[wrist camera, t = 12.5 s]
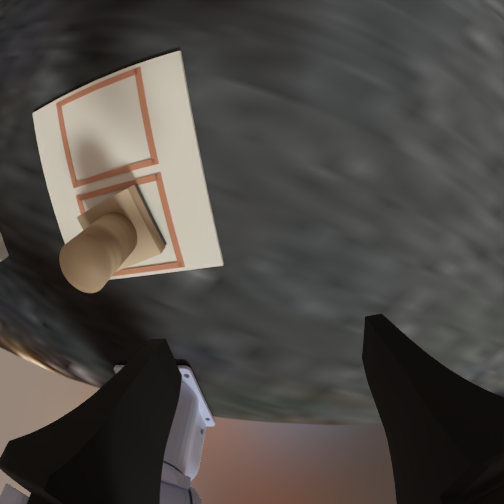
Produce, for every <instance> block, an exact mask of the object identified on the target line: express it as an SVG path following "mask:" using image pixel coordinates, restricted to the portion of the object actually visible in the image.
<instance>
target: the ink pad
mask: <svg viewBox="0 0 504 504" xmlns="http://www.w3.org/2000/svg"><path fill="white" fill-rule="evenodd" d="M8 256H9V255H8V252H7V249H6V247H5V244H4V241H3V238H2V235H1V232H0V262H1V261H2V260H4V259H5V258H7V257H8Z"/></svg>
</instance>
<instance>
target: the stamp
mask: <svg viewBox="0 0 504 504" xmlns="http://www.w3.org/2000/svg"><path fill="white" fill-rule="evenodd" d="M77 219H78V221H79V223H80V225H81V227H82V229H83V231H82V232H80V233H79V234H78V235H77V236H75V237H74V238H73V239H71V240H70V241H69V242H68V243H66V244H65V245H64V246H63V248H62V249H61V251H60V256H59V261H60V267H61V270H62V272H63V274H64V276H65V278H66V279H67V280H68V282H69V283H70V284H71V285H72V286H74V287H75V288H76V289H78V290H80V291H82V292H85V293H95V292H98V291H99V290H101V289H102V288H103V286H104V285H105V284H106V283H107V281H108V280H109V279H110V278H111V277H112V275H113V274H114V273H115V272H117V271H119V270H121V269H124V268H126V267H129V266H131V265H134V264H137V263H139V262H142V261H144V260H147V259H149V258H152V257H154V256H157V255H159V254H161V253H162V252H163V250H164V249H165V245H166V244H167V243H166V241H165V239H164V237H163V235H162V233H161V231H160V229H159V227H158V225H157V223H156V222H155V220H154V218H153V216H152V214H151V212H150V210H149V207H148V205H147V203H146V201H145V199H144V197H143V195H142V193H141V191H140V189H139V187H138V185H137V184H136V185H132V186H130V187H129V188H127V189H125V190H123V191H121V192H119V193H117V194H116V195H114V196H112V197H110V198H108V199H106V200H105V201H103V202H101V203H99V204H98V205H96V206H94V207H92V208H91V209H89V210H87V211H86V212H84V213H82V214H81V215H79V216H78V217H77Z"/></svg>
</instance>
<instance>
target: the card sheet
mask: <svg viewBox="0 0 504 504" xmlns="http://www.w3.org/2000/svg"><path fill="white" fill-rule="evenodd" d="M33 120H34V126H35V132H36V138H37V143H38V148H39V153H40V158H41V163H42V167H43V171H44V175H45V180H46V183H47V187H48V191H49V195H50V198H51V202H52V205H53V209H54V212H55V215H56V218H57V222H58V225H59V228H60V231H61V234H62V237H63V240H64V242H65V244H66V243H68V242H69V241H70V240H71V239H73V238H74V237H75V236H77V235H78V234H79V233H80V232H82V231H83V229H82V227H81V225H80V223H79V221H78V219H77V217H78V216H79V215H81V214H82V213H84V212H86V211H87V210H89V209H91V208H92V207H94V206H96V205H98V204H99V203H101V202H103V201H105V200H106V199H108V198H110V197H112V196H114V195H116V194H117V193H119V192H121V191H123V190H125V189H127V188H129V187H130V186H132V185H136V184H137V185H138V187H139V189H140V191H141V193H142V195H143V197H144V199H145V201H146V203H147V205H148V207H149V210H150V212H151V214H152V216H153V218H154V220H155V222H156V223H157V225H158V227H159V229H160V231H161V233H162V235H163V237H164V239H165V241H166V243H167V244H166V245H165V249H164V250H163V252H162V253H161V254H159V255H157V256H154V257H152V258H149V259H147V260H144V261H142V262H139V263H137V264H134V265H131V266H129V267H126V268H124V269H121V270H119V271H117V272H115V273H114V274H113V275H112V277H111V278H110V279H109V280H111V279H120V278H128V277H136V276H144V275H152V274H160V273H168V272H176V271H184V270H192V269H200V268H208V267H215V266H223V265H224V262H223V257H222V253H221V249H220V244H219V240H218V235H217V231H216V226H215V222H214V217H213V213H212V208H211V203H210V199H209V194H208V189H207V184H206V180H205V175H204V170H203V165H202V160H201V155H200V150H199V145H198V140H197V135H196V130H195V124H194V119H193V114H192V109H191V103H190V98H189V92H188V87H187V81H186V76H185V70H184V64H183V58H182V52H181V51H176V52H173V53H169V54H166V55H163V56H160V57H156V58H153V59H150V60H147V61H144V62H141V63H139V64H136V65H133V66H130V67H128V68H125V69H122V70H120V71H117V72H115V73H112V74H110V75H107V76H105V77H103V78H100V79H98V80H96V81H93V82H91V83H89V84H87V85H85V86H83V87H80V88H78V89H76V90H74V91H72V92H70V93H68V94H66V95H64V96H62V97H60V98H59V99H57V100H55V101H53V102H51V103H49V104H48V105H46V106H44V107H42V108H40V109H39V110H37V111H35V112H34V113H33Z"/></svg>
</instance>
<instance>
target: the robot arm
mask: <svg viewBox="0 0 504 504" xmlns="http://www.w3.org/2000/svg"><path fill="white" fill-rule="evenodd" d="M362 360H363V364H364V369H365V373H366V377H367V381H368V384H369V387H370V390H371V392H372V395H373V398H374V401H375V404H376V406H377V409H378V412H379V415H380V418H381V420H382V423H383V426H384V429H385V432H386V436H387V440H388V445H389V450H390V455H391V461H392V467H393V474H394V481H395V489H396V500H397V504H504V397H501V396H499V395H496V394H494V393H492V392H489V391H487V390H485V389H483V388H481V387H479V386H477V385H475V384H473V383H471V382H469V381H467V380H466V379H464V378H462V377H461V376H459V375H457V374H456V373H454V372H453V371H451V370H449V369H448V368H446V367H445V366H443V365H442V364H441V363H439V362H438V361H437V360H435V359H434V358H433V357H431V356H430V355H429V354H427V353H426V352H425V351H423V350H422V349H421V348H420V347H419V346H418V345H416V344H415V343H414V342H413V341H412V340H410V339H409V338H408V337H407V336H406V335H405V334H404V333H403V332H401V331H400V330H399V329H398V328H397V327H396V326H395V325H394V324H393V323H391V322H390V321H389V320H388V319H387V318H386V317H385V316H384V315H382V314H377V315H372V316H366V317H365V328H364V341H363V353H362ZM114 371H115V373H116V375H115V376H113V377H112V378H111V379H110V380H109V381H108V382H107V383H106V384H105V385H104V386H103V387H101V388H100V389H99V390H98V391H97V392H96V393H95V394H94V395H92V396H91V397H90V398H89V399H87V400H86V401H85V402H83V403H82V404H81V405H79V406H78V407H77V408H75V409H74V410H72V411H71V412H69V413H68V414H66V415H64V416H63V417H61V418H60V419H58V420H56V421H55V422H53V423H51V424H49V425H47V426H45V427H43V428H41V429H39V430H37V431H35V432H33V433H30V434H28V435H25V436H22V437H19V438H17V439H14V440H11V441H9V442H8V444H7V446H6V448H5V450H4V452H3V454H2V455H1V457H0V469H1V470H2V471H3V472H5V473H6V474H7V475H8V476H10V477H11V478H12V479H13V480H14V481H16V482H17V483H18V484H20V485H21V486H22V487H24V488H25V489H27V490H28V491H29V492H31V495H30V497H28V496H26V495H25V494H23V493H21V492H20V491H18V490H16V489H15V488H13V487H12V486H10V485H8V484H6V485H5V487H4V489H3V491H2V494H1V496H0V504H202V502H201V499H200V497H199V495H198V493H197V491H196V490H195V489H194V488H192V487H190V482H191V480H193V478H194V477H195V476H196V474H197V473H198V470H199V465H200V460H201V454H202V448H203V442H204V437H205V430H206V426H215V423H216V422H215V420H214V418H213V416H212V414H211V412H210V410H209V407H208V405H207V403H206V401H205V399H204V397H203V395H202V392H201V390H200V388H199V386H198V384H197V381H196V379H195V377H194V374H193V372H192V370H191V368H190V367H188V366H185V365H182V366H177V364H176V361H175V359H174V357H173V355H172V353H171V350H170V348H169V346H168V343H167V341H166V339H151V340H150V341H149V342H148V343H147V344H145V345H144V346H143V347H142V348H141V349H140V350H139V351H138V352H137V353H136V354H135V355H134V356H133V357H132V358H131V360H130V361H129V362H128V363H127V364H126V365H115V367H114ZM187 374H188V375H187Z"/></svg>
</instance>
